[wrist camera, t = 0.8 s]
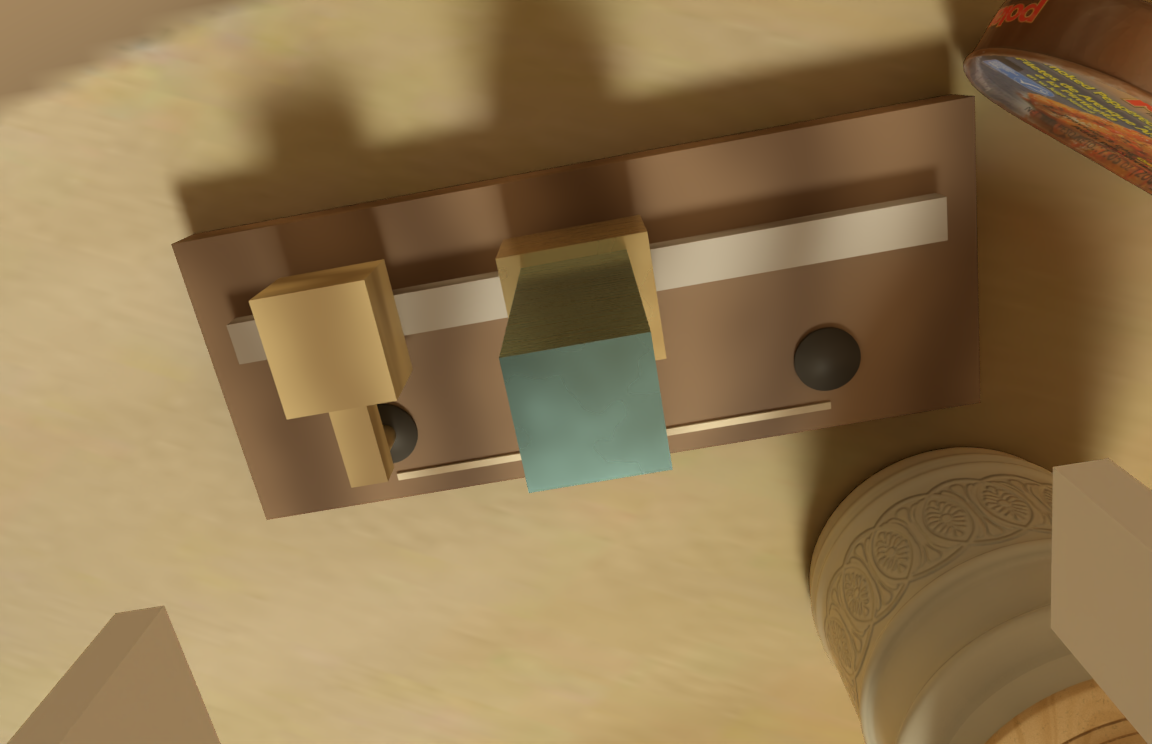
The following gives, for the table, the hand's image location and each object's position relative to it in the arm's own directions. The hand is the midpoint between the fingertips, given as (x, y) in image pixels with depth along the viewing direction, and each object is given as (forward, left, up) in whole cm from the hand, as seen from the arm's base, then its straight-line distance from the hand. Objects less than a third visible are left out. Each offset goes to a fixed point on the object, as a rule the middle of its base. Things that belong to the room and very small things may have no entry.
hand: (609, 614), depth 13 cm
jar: (+14, -17, -24) cm, 32 cm away
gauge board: (0, -2, -23) cm, 23 cm away
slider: (0, -2, -21) cm, 21 cm away
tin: (+21, +2, -24) cm, 32 cm away
